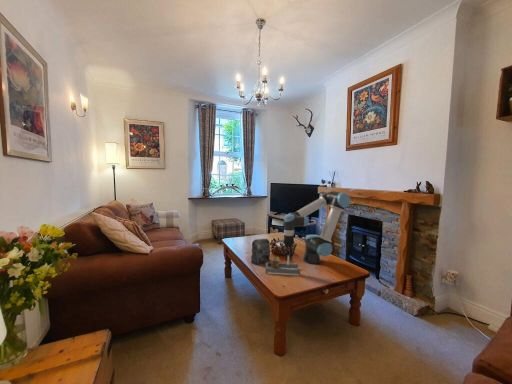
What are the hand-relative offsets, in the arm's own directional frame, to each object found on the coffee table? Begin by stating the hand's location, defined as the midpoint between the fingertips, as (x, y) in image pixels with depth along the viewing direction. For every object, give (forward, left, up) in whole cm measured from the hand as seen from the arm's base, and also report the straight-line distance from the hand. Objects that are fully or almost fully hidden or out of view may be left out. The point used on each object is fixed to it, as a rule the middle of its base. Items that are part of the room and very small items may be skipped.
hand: (288, 264), depth 176 cm
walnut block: (+10, 0, -4) cm, 11 cm away
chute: (+4, 0, -6) cm, 7 cm away
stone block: (+22, -16, -6) cm, 28 cm away
